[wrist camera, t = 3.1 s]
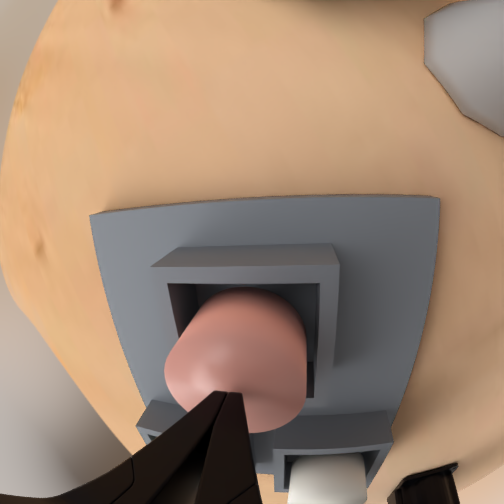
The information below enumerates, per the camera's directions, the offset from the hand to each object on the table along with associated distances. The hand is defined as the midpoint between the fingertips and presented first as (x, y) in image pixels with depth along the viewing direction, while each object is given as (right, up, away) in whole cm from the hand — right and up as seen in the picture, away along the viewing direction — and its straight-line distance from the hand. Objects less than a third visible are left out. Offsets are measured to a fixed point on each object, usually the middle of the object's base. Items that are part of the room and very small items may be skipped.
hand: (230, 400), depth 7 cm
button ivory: (+5, -8, +5) cm, 11 cm away
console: (+1, -3, +7) cm, 8 cm away
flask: (+12, +14, +1) cm, 18 cm away
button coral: (+1, +1, +3) cm, 3 cm away
